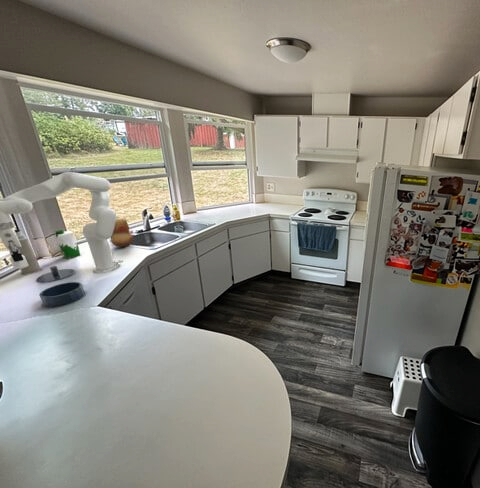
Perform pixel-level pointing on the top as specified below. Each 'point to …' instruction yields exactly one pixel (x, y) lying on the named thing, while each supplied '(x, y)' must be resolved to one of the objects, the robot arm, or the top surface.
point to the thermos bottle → (27, 254)
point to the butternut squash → (121, 233)
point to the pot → (62, 294)
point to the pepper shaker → (19, 263)
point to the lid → (55, 274)
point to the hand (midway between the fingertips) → (18, 259)
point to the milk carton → (67, 243)
